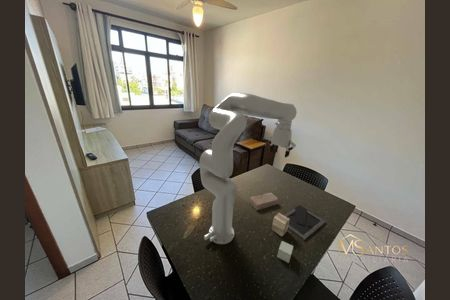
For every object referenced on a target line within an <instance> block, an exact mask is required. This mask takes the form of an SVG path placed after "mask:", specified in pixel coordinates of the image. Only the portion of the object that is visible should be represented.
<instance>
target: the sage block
mask: <svg viewBox="0 0 450 300" xmlns="http://www.w3.org/2000/svg"><path fill="white" fill-rule="evenodd" d="M293 249H294V245H293V244H289V243H288V242H286V241H283V240H281V242H280V245H279V248H278V251H277V256H276V258H279V260H282V261H284V262H286V263H288V264H290V260H291V257H292V254H293Z"/></svg>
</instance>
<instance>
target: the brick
mask: <svg viewBox="0 0 450 300" xmlns="http://www.w3.org/2000/svg"><path fill="white" fill-rule="evenodd" d="M249 202H250V204H251V206H252V207H253V208H254V209H255V210H256V211H261V210H263V209H266V208H269V207H274V206H276V205H278V204H279V199H278V197H277V196H276V195H275V194H273V193H272V192H267V193H264V194H260V195H252V196H250V198H249Z"/></svg>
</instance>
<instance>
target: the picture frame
mask: <svg viewBox="0 0 450 300" xmlns="http://www.w3.org/2000/svg"><path fill="white" fill-rule="evenodd" d="M284 216H285V217H287V218H289V219H290V220H289V224H288V229H287V230H289V231H291V232H292V233H293V234H295V235H296V236H297V237H298V238H300V239H301V240H302V241H304V242H305V241H306V240H308V238H310V236H311V235H313V234H314V233H315V232H316V231H318V230H319V229H320V228H321V227H322V226H323V225H325V224H326V222H327V221H325V220H324V219H322V218H321V217H319V216H318V215H315V214H314V213H312V211H309V210H308V209H307V208H306V207H303V205H301V204H298V205H297V206H296V207H294V208H293V209H291V210H290V211H288V212H287V213H285V214H284Z"/></svg>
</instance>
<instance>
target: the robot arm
mask: <svg viewBox="0 0 450 300" xmlns="http://www.w3.org/2000/svg"><path fill="white" fill-rule="evenodd" d="M297 113H298V112H297V108H296V107H295V105H294V104H292V103H288V102H287V103H284V102H280V101H276V100H273V99H269V98H265V97H262V96H259V95H256V94H252V93H243V92H232V93H231V94H229V95H228V96H226V97H225V98H224V99H223V100H222V101H220V103H218V104H217V105H216V106H215V107H213V109H212V110H211V111H210V113H209V114H208V115H209V116H208V123H209V125H210V126H211V127H212V128H213V129H216V130H218V132H217V134H216V135H215V137H214V138H213V140H212V141H211V149H210V148H209V149H206V150H204V151H203V152H202V154H201V155H200V157H199V172H200V180H201V181H200V182H201V185H202V186H203V188H205V189H206V190H208V191H209V192H210V193H211V194H213V195H214V196H215V199H214V200H213V202H212V211H211V213H212V214H211V215H212V216H211V218H212V219H211V226H210V228H209V229H208V233H207V234H205V235H203V239H204V240H205V241H207V240H208V239H209V241H210V242H212V243H215V244H217V245H226V244H229V243H230V242H232V240H233V239H234V238H235V229H234V228H233V213H234V204H235V203H234V202H235V198H236V194H237V191H238V187H237V184H236V183H235V181H234V180H233V179H232V178H230V177H231V176H232V174H233V173H234V172H233V170H234V146H235V145H234V144H235V143H236V141H237V139H238V138H239V137H240V136H241V134H242V133H243V132H244V131H245V130H246V127H247V123H248V119H247V117H246V116H249V117H256V118H257V117H258V118H263V119H273V120H277V122H275V123H274V125H276V126H274V130H273V133H272V136H269V137H267V140H268V143H269V146H270V148H269V150H270V151H269V152H270V153H273V152H274V151H275V147H276V146H278V147H280V148H285V153H284V158H288V157H289V156H290V153H291V151H293V150H294V149H295V147H296V146H297V145H296V144H295V142H293V141H292V129H291V128H292V123H293V120H294V119H295V118H296V116H297Z"/></svg>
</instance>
